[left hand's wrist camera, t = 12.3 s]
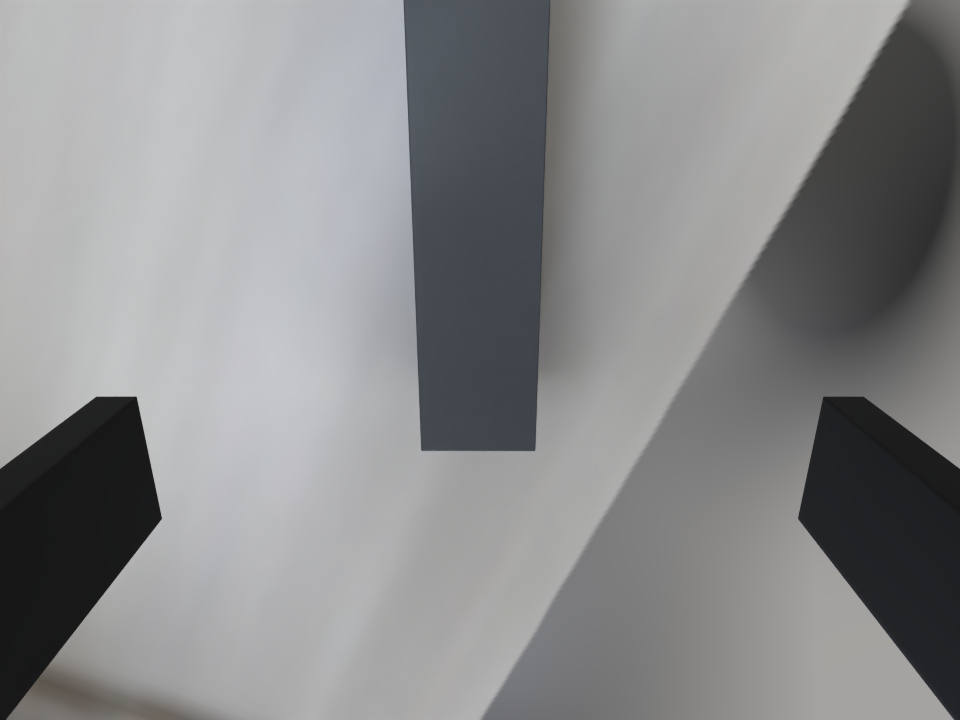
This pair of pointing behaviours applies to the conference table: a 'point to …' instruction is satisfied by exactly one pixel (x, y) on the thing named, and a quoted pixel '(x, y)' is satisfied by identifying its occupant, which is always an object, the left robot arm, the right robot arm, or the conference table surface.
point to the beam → (477, 216)
